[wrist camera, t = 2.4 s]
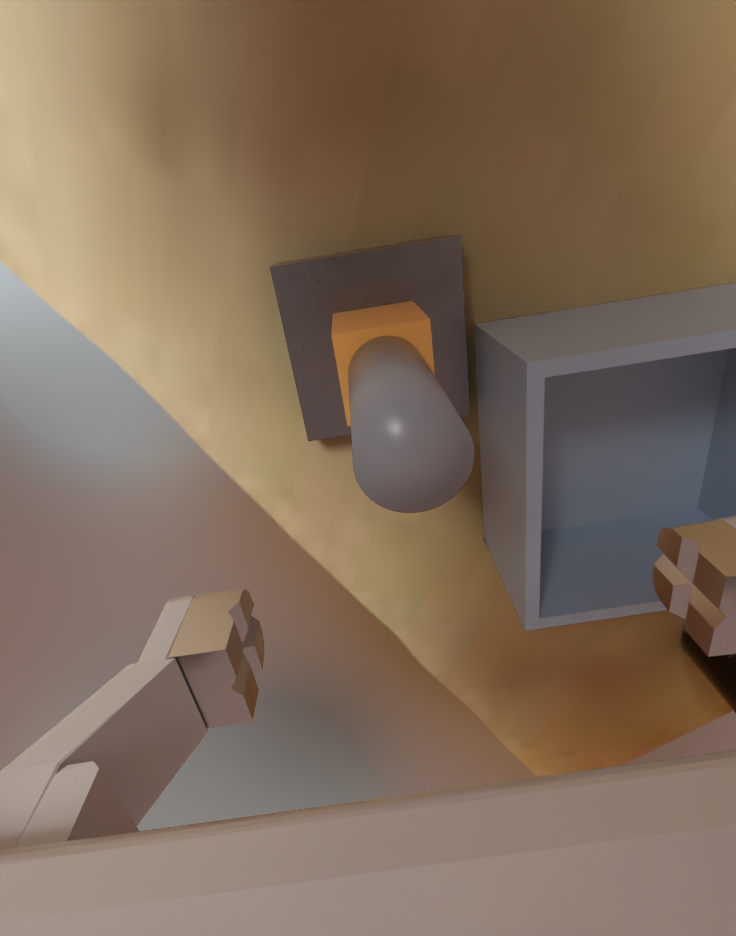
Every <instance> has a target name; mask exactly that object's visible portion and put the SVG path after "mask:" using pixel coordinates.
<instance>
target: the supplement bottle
mask: <svg viewBox="0 0 736 936" xmlns="http://www.w3.org/2000/svg"><path fill="white" fill-rule="evenodd" d="M682 641H683V647H684V649H685V651H686V653H687V654H688V656H689V657H690V658H691V659H692V661H693V662H694V663H695V664H696V666H697V667H698V668H699V669H700V670H701V672H702V673H703V674H704V675H705V676H706V678H707V679H708V680H709V681H710V683H711V684H712V685H713V686H714V687H715V689H716V690H717V691H718V692H719V693H720V695H721V696H722V697H723V698H724V699H725V701H726V702H727V703H728V704H729V705H730V707H731V708H732V709H733V710H734V712H735V713H736V654H728V655H719V656H711V657H708V656H707V655H706V654H705V653H704V651H703V650H702V649H701V648H700V647H699V646H698V645H697V643H696V642H695V641H694V640H693V639H692V638H691V636H690V635H689V634H688V633H687V632H686V631H685V630H684V633H683V639H682Z"/></svg>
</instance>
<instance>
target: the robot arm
mask: <svg viewBox="0 0 736 936" xmlns="http://www.w3.org/2000/svg"><path fill="white" fill-rule="evenodd" d="M657 547H658V548H659V549H660V551H661V552H662V553H663V554H662V555H661V557H660V558H659V559H658V560H657V561H656V562H655V563H654V567H653V577H652V579H653V583H654V587H655V591H656V593H657V595H658V597H659V599H660V601H661V602H662V604H663V605H664V606H665V607H666V608H667V610H668V611H669V612H671V613H673V614H675V615H677V616H679V617H681V618H683V619H685V624H684V630H685V631H686V632H687V633H688V634H689V635H690V636H691V638H692V639H693V640H694V641H695V642H696V643H697V645H698V646H699V647H700V648H701V649H702V650H703V651H704V653H705V654H706V655H707V656H708V657H711V656H719V655H728V654H736V516H731V517H725V518H720V519H715V520H713V521H706V522H699V523H692V524H686V525H679V526H673V527H666V528H662V530H661V531H660V533H659V535H658V540H657ZM253 606H254V603H253V601H252V598H251V596H250V593H249V591H247V590H246V589H241V590H233V591H226V592H217V593H210V594H201V595H197V596H188V597H180V598H173V599H171V600H170V601H168V602H167V603H166V605H165V607H164V609H163V611H162V613H161V615H160V617H159V619H158V621H157V623H156V625H155V627H154V630H153V632H152V634H151V636H150V638H149V640H148V642H147V644H146V646H145V648H144V650H143V652H142V655H141V657H140V659H139V661H138V663H136V664H130V665H128V666H127V667H126V668H125V669H123V670H122V671H121V672H120V673H119V674H117V675H116V676H115V677H114V678H113V679H111V680H110V681H109V682H108V683H107V684H105V685H104V686H103V687H102V688H100V689H99V690H98V691H97V692H96V693H95V694H93V695H92V696H91V697H90V698H88V699H87V700H86V701H85V702H84V703H82V704H81V705H80V706H79V707H78V708H77V709H75V710H74V711H73V712H72V713H70V714H69V715H68V716H67V717H66V718H65V719H63V720H62V721H61V722H60V723H58V724H57V725H56V726H55V727H53V728H52V729H51V730H50V731H49V732H48V733H46V734H45V735H44V736H43V737H42V738H40V739H39V740H38V741H37V742H35V743H34V744H33V745H32V746H31V747H29V748H28V749H27V750H26V751H25V752H23V753H22V754H21V755H20V756H19V757H17V758H16V759H15V760H14V761H13V762H11V763H10V764H9V765H8V766H6V767H5V768H4V769H3V770H2V771H1V772H0V936H736V750H732V751H724V752H718V753H710V754H703V755H695V756H688V757H681V758H674V759H666V760H659V761H652V762H645V763H637V764H630V765H623V766H615V767H608V768H601V769H593V770H586V771H578V772H571V773H564V774H556V775H549V776H542V777H534V778H527V779H519V780H512V781H505V782H497V783H490V784H483V785H476V786H468V787H460V788H453V789H446V790H438V791H431V792H424V793H416V794H409V795H402V796H394V797H387V798H380V799H373V800H365V801H358V802H350V803H343V804H336V805H329V806H322V807H314V808H306V809H299V810H292V811H285V812H277V813H270V814H262V815H255V816H248V817H240V818H233V819H226V820H218V821H212V822H204V823H197V824H189V825H182V826H174V827H167V828H161V829H152V830H145V831H139V830H138V828H137V827H136V826H137V825H138V824H139V822H140V821H141V820H142V818H143V817H144V815H145V814H146V813H147V812H148V810H149V809H150V808H151V806H152V805H153V804H154V802H155V801H156V800H157V798H158V797H159V796H160V794H161V793H162V792H163V790H164V789H165V788H166V786H167V785H168V784H169V782H170V781H171V780H172V778H173V777H174V776H175V774H176V773H177V772H178V770H179V769H180V768H181V766H182V765H183V763H184V762H185V761H186V760H187V758H188V757H189V756H190V754H191V753H192V752H193V750H194V749H195V748H196V746H197V745H198V744H199V742H200V741H201V740H202V738H203V737H204V735H205V734H206V733H207V732H208V730H207V729H208V728H214V727H219V726H226V725H231V724H237V723H243V722H249V721H253V717H254V712H255V707H256V701H257V696H258V691H259V689H258V686H257V683H256V680H255V678H256V676H257V675H258V674H259V673H260V672H261V671H262V669H263V663H264V638H263V632H262V628H261V625H260V622H259V621H258V620H257V619H255V618H254V617H252V616H251V615H252V611H253Z"/></svg>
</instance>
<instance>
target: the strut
mask: <svg viewBox="0 0 736 936" xmlns="http://www.w3.org/2000/svg"><path fill="white" fill-rule="evenodd" d="M331 336H332V342H333V347H334V353H335V358H336V364H337V370H338V375H339V381H340V387H341V392H342V398H343V404H344V409H345V415H346V420H347V426H351V438H352V455H353V468H354V473H355V477H356V480H357V482H358V484H359V486H360V487H361V489H362V490H363V492H364V493H365V494H366V495H367V496H368V497H369V498H370V499H371V500H372V501H374V502H375V503H377V504H378V505H380V506H382V507H384V508H387V509H389V510H393V511H397V512H403V513H415V512H423V511H427V510H430V509H433V508H436V507H438V506H440V505H442V504H444V503H446V502H447V501H449V500H450V499H451V498H453V497H454V496H455V495H456V494H457V493H458V492H459V491H460V490H461V489H462V488H463V486H464V485H465V483H466V482H467V480H468V478H469V476H470V474H471V471H472V468H473V464H474V456H475V451H474V444H473V440H472V437H471V435H470V432H469V430H468V429H467V427H466V426H465V424H464V422H463V421H462V419H461V418H460V416H459V414H458V413H457V411H456V410H455V408H454V406H453V405H452V403H451V402H450V400H449V398H448V397H447V395H446V394H445V392H444V390H443V389H442V387H441V386H440V384H439V382H438V381H437V379H436V378H435V371H434V359H433V347H432V335H431V323H430V318H429V317H428V316H427V315H426V314H425V313H424V312H423V311H422V310H421V309H420V308H419V307H418V306H417V305H416V304H415V303H414V302H413V301H409V302H402V303H396V304H390V305H384V306H377V307H371V308H365V309H359V310H352V311H346V312H340V313H334V314H333V317H332V332H331Z"/></svg>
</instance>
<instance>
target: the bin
mask: <svg viewBox="0 0 736 936" xmlns="http://www.w3.org/2000/svg"><path fill="white" fill-rule="evenodd" d="M475 342H476V365H477V388H478V412H479V435H480V459H481V482H482V505H483V529H484V542H485V544H486V546H487V548H488V550H489V553H490V555H491V557H492V559H493V561H494V564H495V566H496V568H497V570H498V572H499V575H500V577H501V579H502V581H503V583H504V585H505V588H506V590H507V592H508V594H509V596H510V599H511V601H512V603H513V605H514V607H515V610H516V612H517V614H518V616H519V618H520V620H521V623H522V625H523V627H524V629H525V631H529V630H536V629H542V628H549V627H556V626H563V625H570V624H576V623H583V622H590V621H597V620H603V619H610V618H617V617H624V616H631V615H637V614H644V613H651V612H658V611H664V610H667V608H666V607H665V606H664V605H663V604H662V602H661V601H660V599H659V597H658V595H657V593H656V591H655V587H654V583H653V579H652V577H653V567H654V563H655V562H656V561H657V560H658V559H659V558H660V557H661V555H662V554H663V553H662V552H661V551H660V549H659V548H658V547H657V540H658V535H659V533H660V531H661V530H662V528H666V527H673V526H679V525H686V524H692V523H699V522H706V521H713V520H715V519H720V518H725V517H731V516H736V283H730V284H723V285H717V286H711V287H705V288H698V289H692V290H686V291H679V292H673V293H667V294H661V295H654V296H648V297H642V298H635V299H629V300H623V301H617V302H610V303H604V304H598V305H591V306H585V307H579V308H573V309H566V310H560V311H554V312H547V313H541V314H535V315H529V316H522V317H516V318H510V319H503V320H497V321H491V322H485V323H478V324H475Z"/></svg>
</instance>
